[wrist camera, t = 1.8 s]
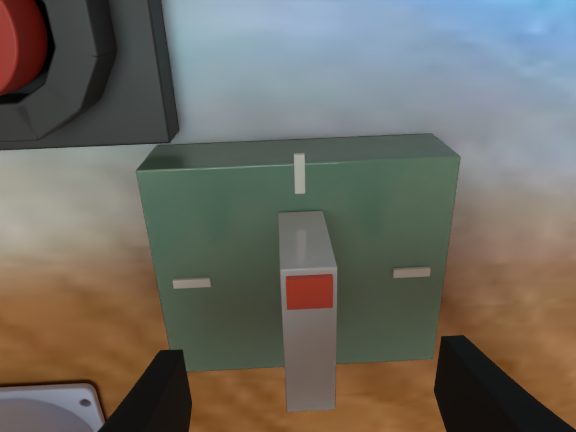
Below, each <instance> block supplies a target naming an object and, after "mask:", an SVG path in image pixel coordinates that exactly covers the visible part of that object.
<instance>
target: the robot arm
mask: <svg viewBox="0 0 576 432" xmlns="http://www.w3.org/2000/svg"><path fill="white" fill-rule="evenodd" d="M434 393H435V396H436V400H437V403H438V406H439V410H440V413H441V416H442V419H443V422H444V425H445V428H446V430H447V432H576V430H575V429H574V428H573V427H571V426H570V425H568V424H567V423H566V422H564V421H563V420H562V419H561V418H559V417H558V416H557V415H555V414H554V413H553V412H552V411H550V410H549V409H548V408H546V407H545V406H544V405H543V404H541V403H540V402H539V401H538V400H536V399H535V398H534V397H533V396H531V395H530V394H529V393H528V392H527V391H525V390H524V389H523V388H522V387H521V386H520V385H518V384H517V383H516V382H515V381H514V380H513V379H511V378H510V377H509V376H508V375H507V374H506V373H505V372H504V371H502V370H501V369H500V368H499V367H498V366H497V365H496V364H495V363H493V362H492V361H491V360H490V359H489V358H488V357H487V356H486V355H485V354H484V353H482V352H481V351H480V350H479V349H478V348H477V347H476V346H475V345H474V344H473V343H472V342H470V341H469V340H468V339H467V338H466V337H465V336H464V335H459V336H442V337H441V344H440V351H439V358H438V365H437V372H436V379H435V386H434ZM85 399H86V400H85ZM88 400H89V401H88ZM191 408H192V400H191V394H190V388H189V383H188V377H187V371H186V366H185V360H184V354H183V349H179V350H161V351H160V352H159V353H158V354H157V355H156V356H155V358H154V359H153V360H152V362H151V363H150V365H149V366H148V368H147V369H146V370H145V372H144V373H143V375H142V376H141V377H140V379H139V380H138V381H137V383H136V384H135V385H134V387H133V388H132V389H131V391H130V392H129V393H128V395H127V396H126V397H125V398H124V400H123V401H122V402H121V404H120V405H119V406H118V407H117V409H116V410H115V411H114V412H113V414H112V415H111V416H110V417H109V419H108V420H107V421H106V422H105V420H104V417H103V413H102V410H101V406H100V403H99V400H98V396H97V393H96V390H95V388H94V387H93V386H92V385H90V384H88V383H76V384H57V385H38V386H18V387H0V432H189V425H190V417H191Z"/></svg>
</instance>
